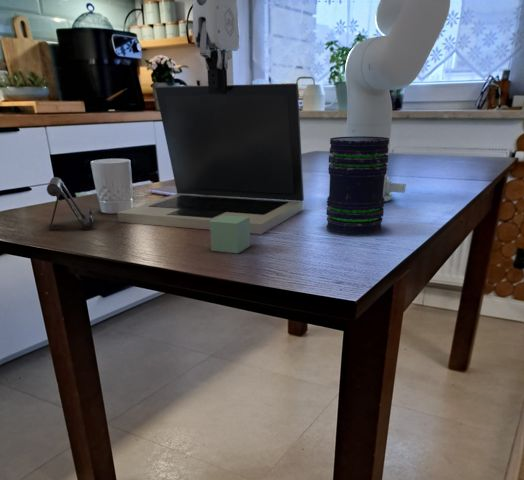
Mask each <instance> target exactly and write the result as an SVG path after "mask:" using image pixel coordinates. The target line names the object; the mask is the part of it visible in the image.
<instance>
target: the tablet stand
mask: <svg viewBox="0 0 524 480" xmlns="http://www.w3.org/2000/svg"><path fill="white" fill-rule="evenodd" d="M46 192H47V194H48V195H49V196H51V197H56V199H55V203H54V204H55V205H54V208H53V213H52V216H51V220H50V224H49V228H48V230H49V231H51V230H52V227H53V223H54V219H55V215H56V211H57V207H58V204H59V199H60V196H62V197H63V199H64V200H65V201H66V203H67V205H68V206H69V208H70V210H71V211H72V213H73V214H74V216H75V217H76V219H77V220H78V222H80V224H81V226H82V228H83V229H85V230H88V231H89V230H92V229H93V227H94V214H93V213H94V212H93V210H92V208H89V210H88V213H87V214H85V213H84V212H82V210H81V208H80V207H79V205H78V203H77V202H76V201H75V199H74V197H73V196H72V194H71V193H70V191H69V190H68V188H67V187H66V185H65V182H63V181H62V179H61V178H60V177H57V176H53V177H52V178H51V179H50V181H49V183H48V185H47V187H46ZM73 205H74V206H73Z"/></svg>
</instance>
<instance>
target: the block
mask: <svg viewBox="0 0 524 480" xmlns="http://www.w3.org/2000/svg"><path fill="white" fill-rule="evenodd" d="M209 231H210V232H209V233H210V247H211V251H212V252H221V253H231V254H240V253H241V252H243V251H244V250H246V249H248V248H249V247H251V233H250V219H249V217H241V216H227V215H223V216H220V217H218V218H216V219H214V220H211V221H210V230H209Z"/></svg>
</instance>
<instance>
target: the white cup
mask: <svg viewBox="0 0 524 480" xmlns="http://www.w3.org/2000/svg"><path fill="white" fill-rule="evenodd" d="M90 168H91V172H92V177H93V183H94V187H95V192H96V196H97V199H98V203H99V204H98V205H99V210H100V212H101V213H103V214H111V215H113V214H117V213H118V212H121V211H124V210H127V209H130V208H133V207H134V198H133V197H134V192H133V191H134V190H133V178H132V177H133V176H132V166H131V160H130V159H128V158H103V159H95V160H91V161H90Z"/></svg>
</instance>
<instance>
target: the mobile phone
mask: <svg viewBox="0 0 524 480" xmlns="http://www.w3.org/2000/svg"><path fill="white" fill-rule="evenodd" d="M148 191H149V193H151V194H156V195H157V194H158V195H161V196H168V197H169V196H172V195H175V194H178V193H177V190H176V185H166V186H165V185H164V186H159V187H154V188H150V189H149V190H148ZM188 195H194V194H188Z"/></svg>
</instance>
